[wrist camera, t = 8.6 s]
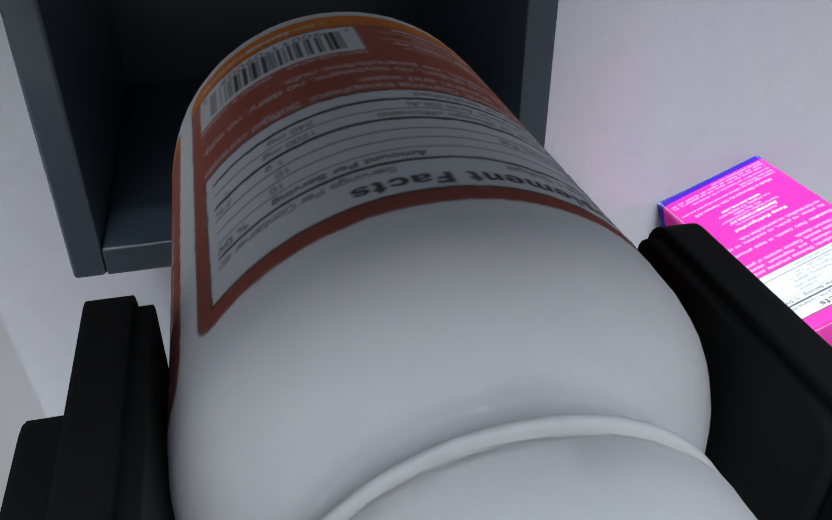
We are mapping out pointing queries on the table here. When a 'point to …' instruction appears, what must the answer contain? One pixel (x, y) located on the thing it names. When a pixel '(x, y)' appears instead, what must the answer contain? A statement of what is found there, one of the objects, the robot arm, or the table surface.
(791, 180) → the supplement box
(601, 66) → the table surface
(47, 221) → the table surface
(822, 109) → the table surface
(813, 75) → the table surface
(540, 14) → the trash bin
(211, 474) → the pill bottle
